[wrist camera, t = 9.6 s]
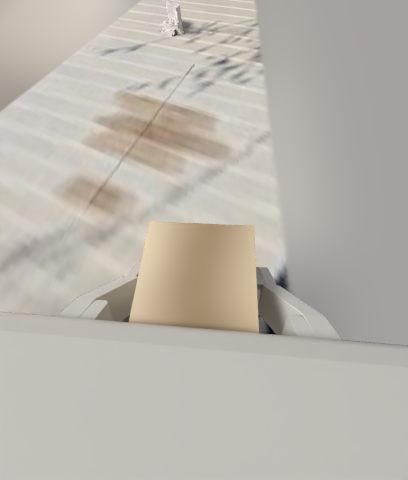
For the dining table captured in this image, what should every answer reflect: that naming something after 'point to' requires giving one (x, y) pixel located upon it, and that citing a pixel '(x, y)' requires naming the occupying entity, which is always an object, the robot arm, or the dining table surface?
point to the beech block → (198, 277)
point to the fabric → (172, 19)
